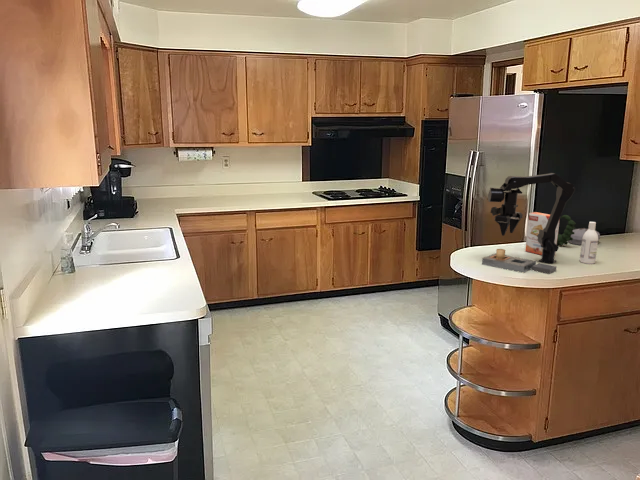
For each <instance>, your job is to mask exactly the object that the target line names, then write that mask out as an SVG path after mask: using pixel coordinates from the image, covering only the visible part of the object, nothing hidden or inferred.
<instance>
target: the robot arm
mask: <svg viewBox="0 0 640 480" xmlns="http://www.w3.org/2000/svg"><path fill="white" fill-rule="evenodd" d="M546 183H550V184H551V183H552V185H553V186H554V187H556V193H555V195H556V196H555V198H556V199H555V202H554V205H553V207H552V209H551V212H550V214H549V215H550V217H549V220H548V222H547V225H546V227H545V228H544V229H543V230H541V229H540V230H539V234H538V236H537V237H538V242H539V243H540V244H541V247H542V248H543V250H542V255H541V259H539V260H538V262H539V263H544V264H551V265H552V264H555V263H556V262H557V260H556V259H555V256H556V253H555V251H556V252H558V250H559V249H560V248H559V246H558V245H556V244H555V243H554V241H555V230H556V227H557V224H558V222H559V223H560V221H559V219H561V217H562V214H563V211H564V209H565V207H566V204H567V203H568V201H569V200H570V199H571V198H572V196H573V194H574V193H575V191H576V187H575V185H574V184H573V183H570V182H567V181H566V180H565V179H563V178H561V177H560V176H559V175H558V174H557V173H554V172H549V173H544V174H537V175H536V174H535V175H528V176H519V175H508V176H507V177H506V178H505V180H504V183H503V184H502V185H501V186H500V187H498V188H497V187H490V188H489V191H488V194H487V202H489V203H502V201H504V202H503V203H502V204H501V207H497V206H492V207H491V209H490V212H489V213H490V214H492V217H494V221H495V223H496V224H498V225H499V228H500V232H501V236H503V237H504V236H505V235H506V233H507V230H508V228H509V233H510V234H513V233H514V232H515V229H516V227H517V226H518V225H519V223H520V221H521V220H522V219H523V215H524V214H523V213H522V212H520V211H517V208H518V207H519V204H517V203H518V194H519V195H520V194H523V192H522V191H521V189H520V188H523V187H525V186H528V185H538V184H546Z"/></svg>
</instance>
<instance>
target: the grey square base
mask: <svg viewBox="0 0 640 480" xmlns="http://www.w3.org/2000/svg"><path fill="white" fill-rule="evenodd" d="M532 270H534V272H537V271H538V272H539V273H542V272H543V274H548V275H550V274H552V273H554V272H556V271H557V266H556V265H552V264H551V265H550V264H547V263H542V262H539V263H536V265H534V266H532V269H531V271H532ZM538 272H537V273H538Z"/></svg>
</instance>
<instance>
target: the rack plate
mask: <svg viewBox="0 0 640 480" xmlns="http://www.w3.org/2000/svg"><path fill="white" fill-rule="evenodd" d="M481 260H482V261H481V265H484V266H489V267H492V268H493V267H494V268H498V269H502V268H503V270H507V269H508V271H512V270H514V271H513V272H517V271H519V272H518V273H522V272H524V273H526V272H528V270H529V271H531V270H532V266H534V265H536V264H537V260H534V259H527V258H523V257H517V256H513V255H512V256H511V255H507V254H505V259H498V258H496V253H493V254H490V255H487V256H485V257H482V259H481ZM530 269H531V270H530Z"/></svg>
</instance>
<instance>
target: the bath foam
mask: <svg viewBox="0 0 640 480" xmlns="http://www.w3.org/2000/svg"><path fill="white" fill-rule="evenodd" d="M596 224H597V222H596V221H589V223H588V228H587V229H588V230H587V231H586V232H585V233H584V235H583V238H582V245H580V252H579V253H580V254H579V262H580V263H583V264H589V265H592V264H595V263H596V259H597V253H598V252H597V251H598V245H599V241H598V235H597V233H596V231H597V230H596V226H597V225H596Z"/></svg>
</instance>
